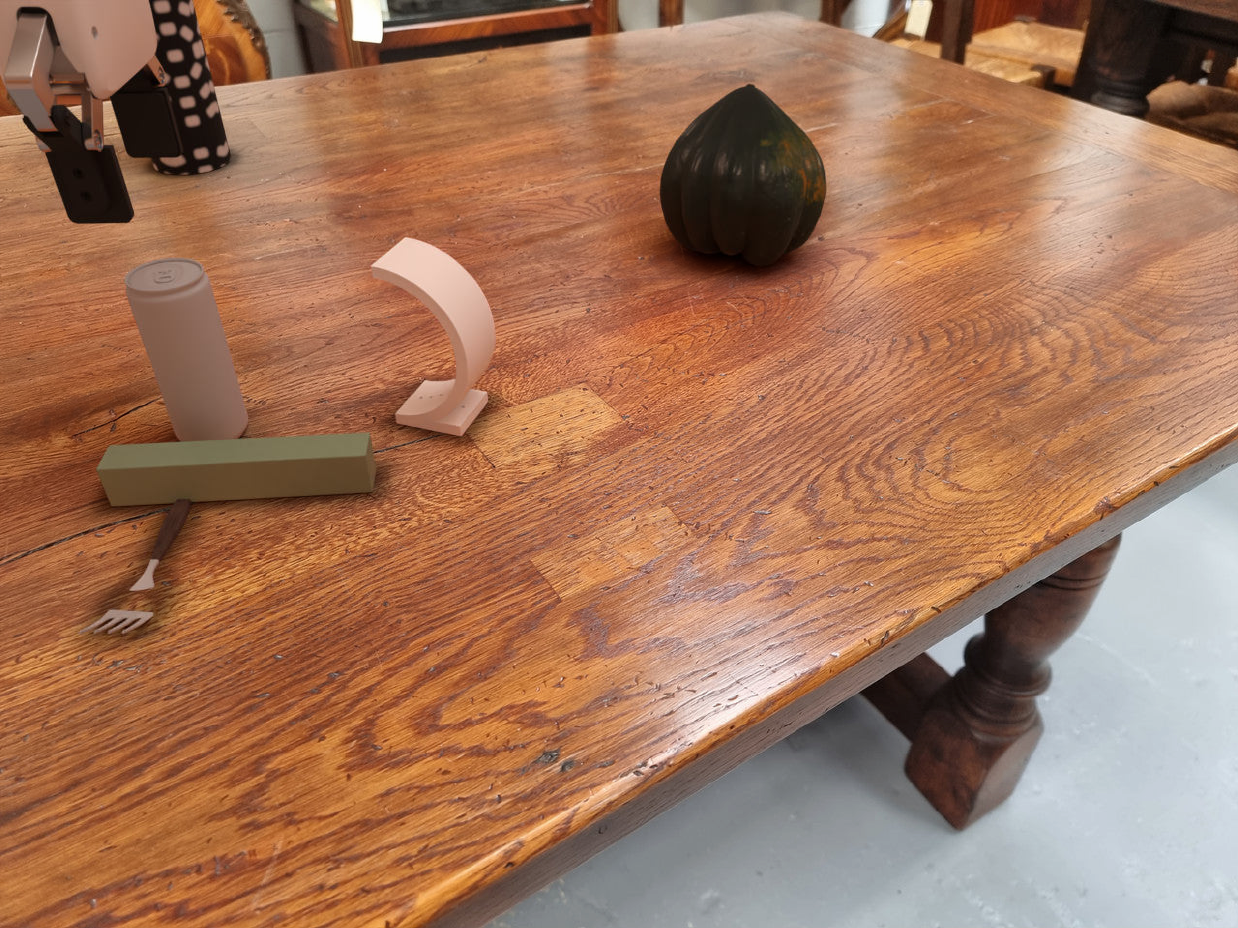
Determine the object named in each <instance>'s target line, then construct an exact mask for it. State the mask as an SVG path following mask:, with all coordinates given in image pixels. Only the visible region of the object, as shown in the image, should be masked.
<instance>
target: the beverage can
mask: <svg viewBox="0 0 1238 928" xmlns="http://www.w3.org/2000/svg"><path fill="white" fill-rule="evenodd" d="M123 282H124V285H125V286H126V287H125V295H126V298H127V301H128V304H129V307H130V311H131V313H132V316H133V318H134V322H135V323H136V326H137V329H138V333H139V335H140V338H141V341H142V343H143V346H144V349H145V352H146V355H147V357H148V361H149V364H150V367H151V368H152V372H153V375H154V378H155V380H156V383H157V386H158V389H159V392H160V394H161V398H162V400H163V403H164V406H165V409H166V412H167V415H168V417H169V420H170V424H171V426H172V429H173V432H174V434H175V436H176V438H177V440H179V442H186V441H206V440H226V439H240V437H241V436H242V435H243V433H244V432H245V430H246V428H247V427H248V425H249V420H250V419H249V415H248V410H247V408H246V404H245V401H244V400H245V399H244V397H243V393H242V390H241V386H240V383H239V380H238V375H237V372H236V368H235V364H234V361H233V357H232V354H231V350H230V347H229V344H228V340H227V336H226V332H225V328H224V326H223V322H222V319H221V315H220V311H219V308H218V307H219V306H218V304H217V301H216V297H215V294H214V291H213V287H212V283H211V280H210V277H209V275H208V274H207V273H206V271H205V267H204V265H203V264H202V263H201V262H199V261H198V260H196V259H193V258H187V257H165V258H164V257H163V258H159V259H154V260H151V261H148V262H144V263H141V264H139V265H137V266H135V267H133V268H132V269H131V270H128V272H127V273H126V274H125V276H124V278H123Z"/></svg>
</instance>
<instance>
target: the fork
mask: <svg viewBox="0 0 1238 928" xmlns="http://www.w3.org/2000/svg"><path fill="white" fill-rule="evenodd" d="M192 503H193V502H191V500H190V499H177V500H176V502H175V503H173V505H172V506H171V508H170V509H169V511H168V512H167V514H166V516H165V518H164V519H163V522H162V524H161V527H160V529H159V533H158V535H157V539H156V541H155V545H154V548H153V551H152V553H151V557H150V559H149V563H148V565H147V567H146V569H145V571H144V573H143V574H142V575H141V577H140V578H139V579H138V580H137V581H136V583H134V584H133V586H131V587H130V589H129V591H135V592H136V591H145V590H148V589H152V588H154V587H155V582H154V573H155V571H156V569H157V567H158V566H159V564H160V562H161V561H162V559H163V558H164V557H165V555H166V553H167V552H168V551H169V549H170V548H171V547H172V545H173V543H174V541H175V540H176V539H177V537H178V535H179V534H180V532H181V530H182V529H183V527H184V526H185V523H186V521H187V518H188V515H189V512H190V509H191V506H192ZM153 616H154V613H153V612H152V611H138V610H125V609H109V610H107V612H105V614H104V615H103V616H101V618H99V619H98V620H97V621H95V622H93V623H92V624H91V625H89V626H87V627H85V628H83V629H81V630H79V631H78V634H79V635H82V634H85V633H88V632H89V631H92V630H93V634H94V635H97V634H99V633H102V632H103V631H105V630H107V629H109V630H108V631H107V635H111V634H113V633H115V632H118V631H119V630H121V629H123V628H125V627H126V626H128V625H130V624H131V623H133V622H135V621H136V622H135V623H134V624H132V625H131V626H129V627H127V628H126V629H123V630H122V631H121V635H125V634H127V633H129V632H132V631H133V630H135V629H137V628H138V627H140V626H141V625H143V624H145V623H146V622H148V621H149V620H150V619H152V617H153ZM109 620H110V621H109ZM123 620H124V621H123ZM137 620H138V621H137ZM107 621H109V622H108V623H106V624H104V623H105V622H107ZM121 621H122V622H121ZM120 622H121V623H120ZM118 623H119V624H118ZM102 624H104V625H103V626H101V625H102ZM116 624H118V625H117V626H115V625H116ZM99 626H101V627H99ZM113 626H114V627H113ZM98 627H99V628H98ZM111 627H113V628H111ZM96 628H97V629H96ZM94 629H95V630H94Z"/></svg>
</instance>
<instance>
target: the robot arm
mask: <svg viewBox="0 0 1238 928" xmlns="http://www.w3.org/2000/svg"><path fill="white" fill-rule="evenodd" d="M157 47H158V44H157V38H156V32H155V26H154V21H153V17H152V13H151V8H150V4H149V0H0V78H1V81H2V83H3V85H4V88H5V89H6V91H7V92H8V94H9V96H10V97H11V99H12V100H13V101H14V103H15V105H16V107H18V109H19V111H20V112H21V114H22V115H23V117H21V118H22V122H23V124H24V125H25V126H26V128H27V129H28V130H29V132H30V133H32V134H33V135H34V138H35V143H36V146H37V148H38V149H39V151H41V152H42V153H44V155H45V157H46V160H47V163H48V166H49V168H50V171H51V173H52V177H53V179H54V182H55V185H56V187H57V190H58V193H59V197H60V199H61V202H62V205H63V207H64V210H65V213H66V216H67V218H68V220H69V221H70V222H71V223H73V224H75V225H88V224H89V225H91V224H92V225H93V224H95V225H96V224H97V225H98V224H103V225H105V224H128V223H130V222H131V221H132V220H133V218H134V217H135V210H134V207H133V204H132V200H131V197H130V194H129V190H128V187H127V184H126V181H125V178H124V174H123V171H122V168H121V165H120V162H119V158H118V156H117V153H116V149H115V146H114V144H105V133H104V132H105V129H104V127H105V126H104V100H107V99H110V102H111V103H110V104H111V106H112V109H113V113H114V116H115V119H116V124H117V126H118V128H119V129H118V130H119V132H120V136H121V139H122V142H123V145H124V150H125V152H126V154H127V155H128V156H129V157H130V158H133V159H151V158H176V157H179V156H180V155H181V153H182V152H183V147H182V143H181V139H180V135H179V132H178V128H177V124H176V120H175V116H174V113H173V109H172V105H171V101H170V98H169V94H168V90H167V88H157V86H165V82H166V78H165V73H164V69H163V67H162V65H161V64H160V62H159V61H158V59H157V58H156V48H157ZM66 105H81V107H80V108H81V109H80V110H81V120H80V119H79V118H78V117H77V116H76V115H75V114H74V113H73V111H71V110H70V109H69V108H68V107H67V106H66Z"/></svg>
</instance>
